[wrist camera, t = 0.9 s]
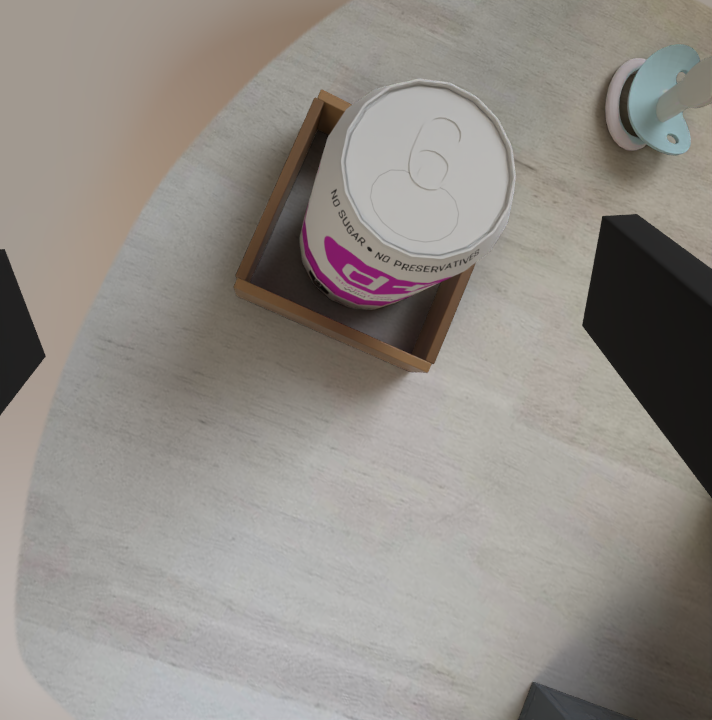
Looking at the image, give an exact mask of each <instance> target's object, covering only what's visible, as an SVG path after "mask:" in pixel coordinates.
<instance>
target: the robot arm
mask: <svg viewBox="0 0 712 720" xmlns="http://www.w3.org/2000/svg"><path fill="white" fill-rule="evenodd" d="M582 326H583V327H584V329H585V330H586V331H587V333H588V334H589V335H590V337H591V338H592V339H593V341H594V342H595V343H596V345H597V346H598V347H599V349H600V350H601V351H602V353H603V354H604V355H605V357H606V358H607V359H608V361H609V362H610V363H611V365H612V366H613V367H614V369H615V370H616V371H617V373H618V374H619V375H620V377H621V378H622V379H623V381H624V382H625V383H626V385H627V386H628V387H629V389H630V390H631V391H632V393H633V394H634V395H635V397H636V398H637V399H638V401H639V402H640V403H641V405H642V406H643V407H644V409H645V410H646V411H647V413H648V414H649V415H650V417H651V418H652V419H653V421H654V422H655V423H656V425H657V426H658V427H659V428H660V430H661V431H662V432H663V434H664V435H665V436H666V438H667V439H668V440H669V442H670V443H671V444H672V446H673V447H674V448H675V450H676V451H677V452H678V454H679V455H680V456H681V458H682V459H683V460H684V462H685V463H686V464H687V466H688V467H689V468H690V470H691V471H692V472H693V474H694V475H695V476H696V478H697V479H698V480H699V482H700V483H701V484H702V486H703V487H704V488H705V490H706V491H707V492H708V494H709V495H710V496H711V498H712V269H711V268H710V267H708V266H707V265H706V264H704V263H703V262H702V261H700V260H699V259H697V258H696V257H695V256H693V255H692V254H691V253H689V252H688V251H687V250H685V249H684V248H682V247H681V246H680V245H678V244H677V243H676V242H674V241H673V240H672V239H670V238H669V237H667V236H666V235H665V234H663V233H662V232H661V231H659V230H658V229H657V228H655V227H654V226H652V225H651V224H650V223H648V222H647V221H646V220H644V219H643V218H641V217H640V216H639V215H637V214H632V215H614V216H602V221H601V227H600V232H599V238H598V243H597V248H596V254H595V259H594V265H593V270H592V276H591V281H590V286H589V292H588V297H587V303H586V308H585V313H584V319H583V324H582ZM44 358H45V353H44V351H43V348H42V345H41V343H40V340H39V338H38V335H37V332H36V330H35V327H34V324H33V322H32V320H31V317H30V314H29V312H28V309H27V306H26V304H25V301H24V299H23V296H22V294H21V291H20V288H19V286H18V283H17V280H16V278H15V275H14V272H13V270H12V267H11V264H10V262H9V259H8V257H7V254H6V252H5V249H2V250H1V249H0V415H1V413H2V412H3V411H4V410H5V408H6V407H7V406H8V404H9V403H10V402H11V401H12V399H13V398H14V397H15V395H16V394H17V393H18V391H19V390H20V389H21V388H22V386H23V385H24V384H25V382H26V381H27V380H28V379H29V377H30V376H31V375H32V373H33V372H34V371H35V369H36V368H37V367H38V366H39V364H40V363H41V362H42V360H43V359H44Z"/></svg>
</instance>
